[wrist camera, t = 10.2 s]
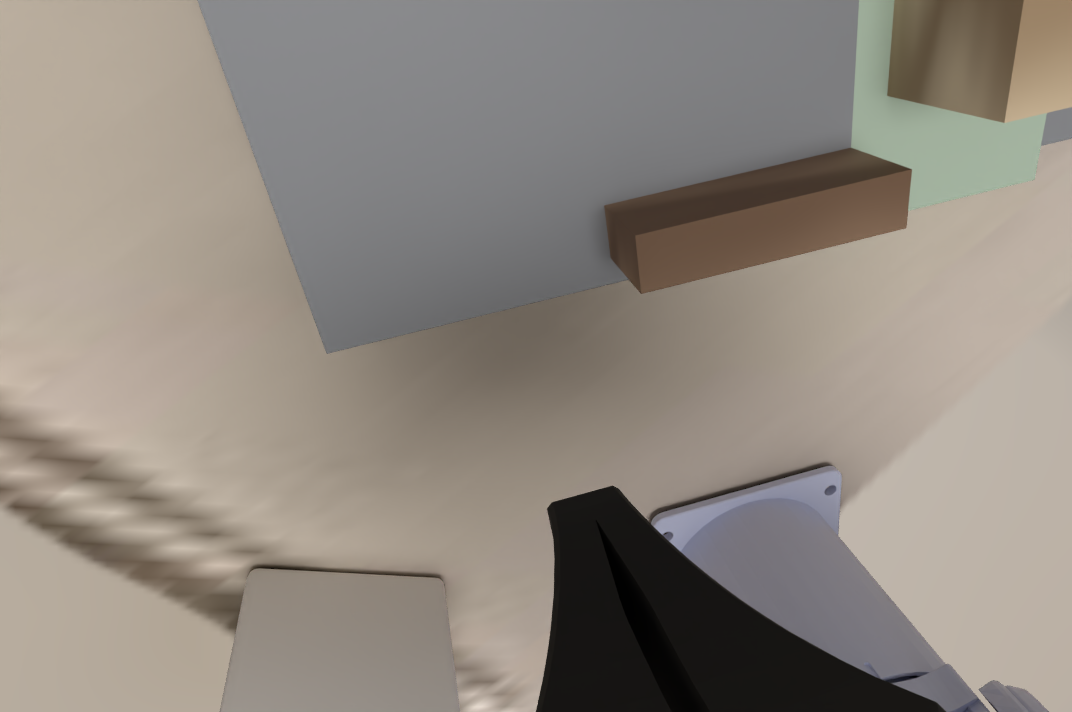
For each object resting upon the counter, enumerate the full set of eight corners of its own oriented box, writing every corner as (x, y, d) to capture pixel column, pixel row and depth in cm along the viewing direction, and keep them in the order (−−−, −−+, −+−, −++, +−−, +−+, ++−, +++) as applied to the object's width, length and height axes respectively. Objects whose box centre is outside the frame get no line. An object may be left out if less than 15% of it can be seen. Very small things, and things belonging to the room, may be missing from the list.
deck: (1160, 109, 24) (1254, 125, 22) (331, 308, 21) (326, 353, 19) (1272, -317, 19) (1417, -363, 16) (180, -124, 16) (145, -144, 13)
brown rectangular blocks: (847, 200, 20) (906, 228, 18) (610, 258, 19) (641, 293, 17) (871, -224, 15) (954, -258, 13) (557, -168, 15) (590, -193, 12)
